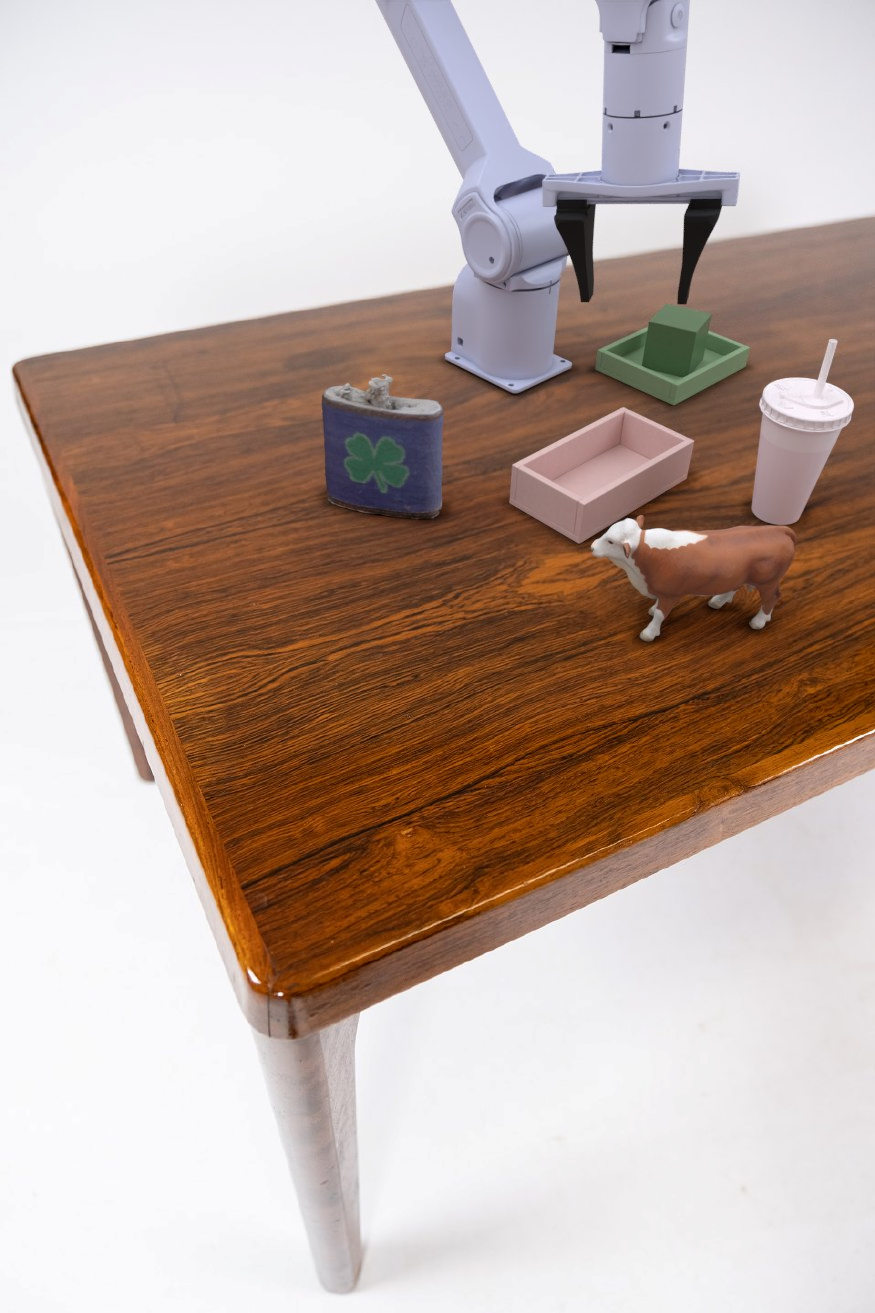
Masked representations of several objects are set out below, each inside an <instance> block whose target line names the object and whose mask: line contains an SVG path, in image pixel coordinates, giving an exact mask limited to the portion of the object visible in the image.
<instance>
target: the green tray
mask: <svg viewBox="0 0 875 1313" xmlns="http://www.w3.org/2000/svg"><path fill="white" fill-rule="evenodd" d="M647 330H648V326H646V327H644V328H641V329H639V330H637V331H636V332H632V333H631V334H628V335H626V336H624V337H622V338H620V339H618V340H616V341H613V342H612V343H609V344H607V345H605V346H603V347H601V348H599V349H597V350H596V358H595V366H594V367H595V368H594V370H595V371H597V372H599V373H602V374H603V375H606V376H608V377H610V378H613V379H615V380H616V381H619V382H621V383H623V384H626V385H628V386H629V387H632V388H634V389H636V390H639V391H641V392H643V393H645V394H647V395H649V396H652V397H653V398H656V399H659V400H660V401H663V402H665V403H667V404H669V405H671V406H676V405H678V404H679V403H682V402H683V401H685V400H687V399H689V398H691V397H692V396H695V395H696V394H698V393H700V392H702V391H704V390H706V389H707V388H710V387H711V386H713V385H714V384H716V383H718V382H720V381H723V380H724V379H726V378H728V377H730V376H731V375H733V374H735V373H737V372H738V371H740V370H743V369H744V368H746V366H747V364H748V358H749V354H750V350H751V347H750V346H748V345H745V344H743V343H741V342H738V341H735V340H733V339H730V338H729V337H726V336H723V335H721V334H718V333H716V332H714V331H711V330H709V332H708V336H707V341H706V346H705V351H704V356H703V360H702V361H701V362H700V363H699V365H698V366H697V367H696V368H695V370H694V371H693V372H692V373H691V374H689V375H687V376H685V377H679V376H675V375H672V374H668V373H664V372H660V371H656V370H652V369H648V368H645V367H643V366H642V361H643V355H644V349H645V342H646V336H647Z"/></svg>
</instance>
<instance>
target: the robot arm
mask: <svg viewBox="0 0 875 1313" xmlns="http://www.w3.org/2000/svg"><path fill="white" fill-rule="evenodd" d="M374 1H375V3H376V5H377V8H378V9H379V11H380V13H381V15H382V17H383V20H384V22H385V23H386V25H387V27H388V30H389V31H390V33H391V36H392V37H393V39H394V42H395V44H396V46H397V48H398V50H399V51H400V54H401V56H402V58H403V60H404V62H405V64H406V66H407V69H408V70H409V72H410V75H411V77H412V78H413V80H414V82H415V84H416V87H417V89H418V91H419V92H420V95H421V97H422V99H423V101H424V103H425V104H426V107H427V109H428V111H429V114H430V115H431V117H432V120H433V121H434V123H435V125H436V127H437V129H438V131H439V133H440V135H441V137H442V139H443V142H444V143H445V146H446V147H447V150H448V152H449V154H450V156H451V158H452V160H453V162H454V164H455V166H456V168H457V170H458V172H459V174H460V176H461V178H462V180H463V181H462V183H461V184H460V187H459V189H458V192H457V194H456V196H455V199H454V202H453V204H452V208H451V212H450V213H451V215H452V217H453V219H454V221H455V223H456V226H457V228H458V231H459V235H460V240H461V241H460V242H461V247H462V252H463V255H464V258H465V261H466V262H467V263H466V264H465V265H464V266H463V267H462V269H461V270H460V271H459V273H458V275H457V277H456V280H455V282H454V286H453V290H452V298H451V299H452V300H451V302H452V303H451V306H452V307H451V342H450V343H451V347H450V348H451V350H450V351H448V352H446V353H444V359H445V360H446V361H447V362H449V363H451V364H454V365H455V366H458V367H460V368H462V369H463V370H466V371H468V372H469V373H471V374H474V375H475V376H477V377H479V378H481V379H483V380H485V381H487V382H490V383H491V384H493V385H495V386H497V387H499V388H501V389H503V390H505V391H507V392H509V393H511V394H519V393H522V392H524V391H526V390H528V389H530V388H532V387H534V386H536V385H539V384H540V383H542V382H545V381H547V380H550V379H552V378H553V377H555V376H557V375H560V374H562V373H564V372H566V371H568V370H570V369H572V367H573V363H572V362H571V361H570V360H568V359H566V358H563V357H561V356H559V355H557V354H555V353H554V350H555V340H556V330H557V321H558V320H557V319H558V311H559V310H558V309H559V308H558V307H559V298H560V289H561V277H562V273H563V271H566V269H567V263H568V257H569V258H570V260H571V263H572V267H573V270H574V273H575V277H576V281H577V286H578V291H579V298H580V302H581V303H590V301H591V300H592V298H593V296H594V288H595V287H594V286H595V271H594V270H595V269H594V235H595V220H596V219H595V218H596V208H597V205H687V208H686V209H685V212H684V215H683V232H682V233H683V234H682V255H681V256H682V257H681V258H682V259H681V268H680V275H679V283H678V289H677V299H676V300H677V303H676V305H684V306H685V305H687V304H688V301H689V297H690V291H691V285H692V281H693V277H694V273H695V270H696V267H697V265H698V262H699V260H700V258H701V256H702V253H703V251H704V248H705V246H706V244H707V243H708V241H709V239H710V236H711V234H712V232H713V231H714V229H715V227H716V225H717V223H718V222H719V221H718V220H719V218H720V215H721V211H722V208H723V207H736V206H737V204H738V200H739V189H740V180H741V172H740V171H717V170H716V171H713V170H702V169H701V170H700V169H689V168H680V159H681V158H680V157H681V156H680V155H681V143H682V142H681V140H682V126H683V110H684V109H683V108H684V96H685V83H686V82H685V81H686V67H687V50H688V37H689V36H688V35H689V34H688V33H689V20H690V6H691V5H690V4H691V0H594V1H595V3H596V5H597V8H598V14H599V29H598V30H599V33H602V40H603V83H602V120H601V121H602V123H601V124H602V125H601V126H602V130H601V170H591V171H579V172H569V173H556V171H555V169H554V167H553V164H552V163H551V162H550V161H549V160H547V159H545V158H544V157H542V156H540V155H538V154H536V153H534V152H532V151H530V150H528V149H527V148H525V147H523V146H522V145H521V144H520V142H519V139H518V138H517V135H516V133H515V131H514V129H513V127H512V125H511V122H510V120H509V119H508V117H507V114H506V113H505V110H504V109H503V107H502V104H501V102H500V100H499V98H498V96H497V94H496V92H495V89H494V88H493V86H492V83H491V81H490V79H489V77H488V75H487V73H486V71H485V69H484V67H483V64H482V63H481V61H480V59H479V56H478V54H477V52H476V50H475V48H474V46H473V44H472V42H471V40H470V38H469V36H468V32H466V29H465V26H464V25H463V22H462V21H461V19H460V16H459V15H458V12H457V11H456V8H455V6H454V4H453V3H452V1H451V0H374Z"/></svg>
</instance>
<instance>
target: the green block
mask: <svg viewBox="0 0 875 1313" xmlns="http://www.w3.org/2000/svg"><path fill="white" fill-rule="evenodd" d="M712 317H713V314H712V313H710V312H705V311H701V310H697V309H693V308H689V307H683V306H679V305H674V304H672V303H671V304H670V303H665V304H664V305H663V306H661V308H660V309H658V311H657V312H656V313H655V314H654V316H652V317H651V319H649V320H648V324H647V327H648V330H647V336H646V342H645V349H644V355H643V361H642V366H643V367H645V368H648V369H652V370H656V371H660V372H664V373H668V374H672V375H675V376H679V377H685V376H687V375H689V374H691V373H692V372H693V371H694V370H695V368H696V367H697V366H698V365H699V363H700V362H701V361H702V360H703V356H704V351H705V346H706V341H707V336H708V332H709V331H710V326H711V321H712Z"/></svg>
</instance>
